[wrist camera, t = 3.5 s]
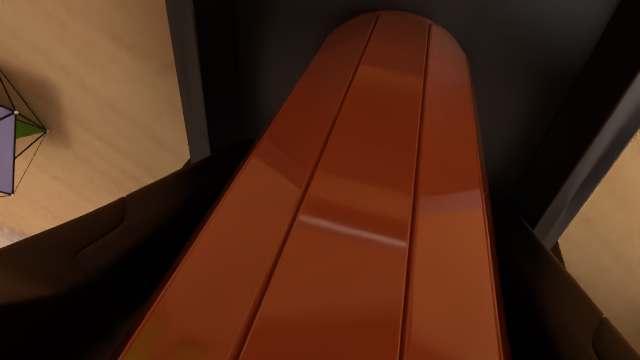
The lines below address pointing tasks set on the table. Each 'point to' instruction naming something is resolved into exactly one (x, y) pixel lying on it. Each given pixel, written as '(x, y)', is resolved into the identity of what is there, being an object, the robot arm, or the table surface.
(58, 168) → the table surface
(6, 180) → the geometric puzzle
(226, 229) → the cup
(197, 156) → the drawer
